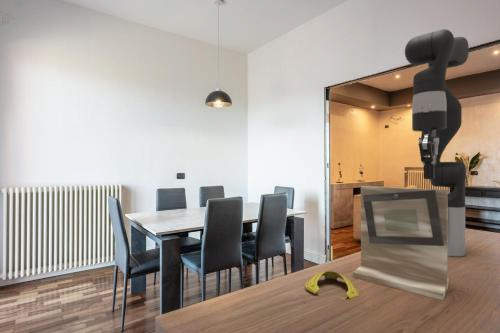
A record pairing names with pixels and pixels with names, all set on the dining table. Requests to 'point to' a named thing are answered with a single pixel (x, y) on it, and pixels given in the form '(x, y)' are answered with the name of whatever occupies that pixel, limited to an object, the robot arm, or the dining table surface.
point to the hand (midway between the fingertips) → (428, 178)
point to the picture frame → (404, 218)
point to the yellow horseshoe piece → (312, 283)
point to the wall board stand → (406, 255)
